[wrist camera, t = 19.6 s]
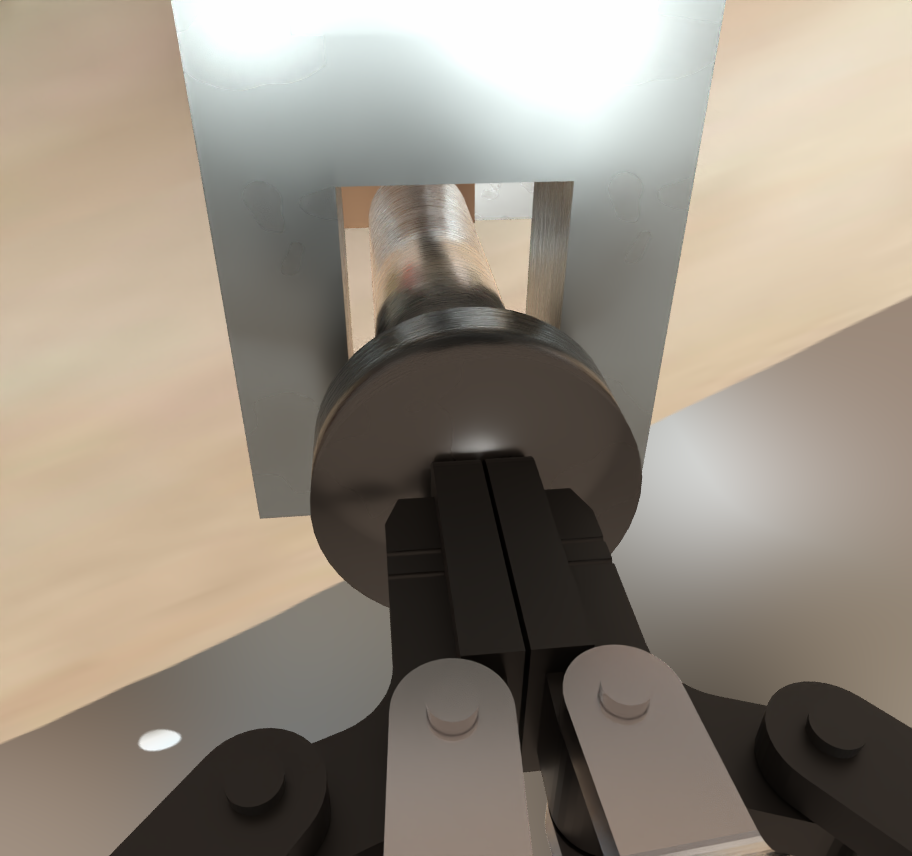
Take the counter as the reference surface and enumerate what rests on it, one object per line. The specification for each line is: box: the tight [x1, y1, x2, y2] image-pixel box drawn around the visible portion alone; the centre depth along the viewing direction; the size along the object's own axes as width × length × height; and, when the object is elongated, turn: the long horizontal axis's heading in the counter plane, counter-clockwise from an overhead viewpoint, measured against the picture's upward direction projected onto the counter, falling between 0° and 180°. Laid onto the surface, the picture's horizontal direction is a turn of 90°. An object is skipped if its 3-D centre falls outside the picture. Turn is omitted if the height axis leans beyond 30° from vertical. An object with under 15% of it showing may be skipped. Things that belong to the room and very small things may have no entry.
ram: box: [310, 184, 642, 607], centre depth 17 cm, size 5×5×13 cm
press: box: [171, 0, 726, 519], centre depth 24 cm, size 14×16×30 cm
